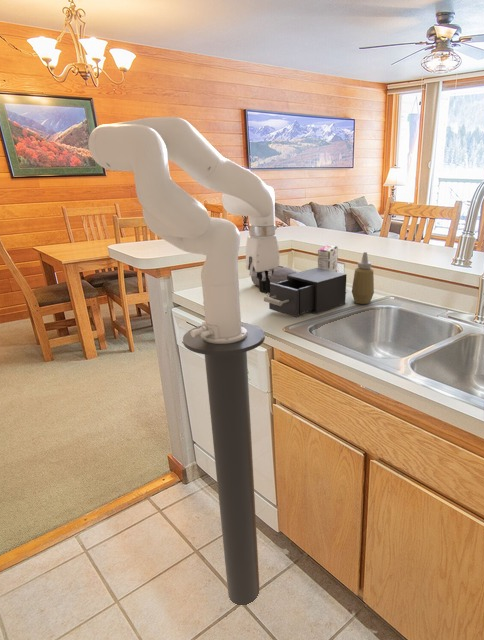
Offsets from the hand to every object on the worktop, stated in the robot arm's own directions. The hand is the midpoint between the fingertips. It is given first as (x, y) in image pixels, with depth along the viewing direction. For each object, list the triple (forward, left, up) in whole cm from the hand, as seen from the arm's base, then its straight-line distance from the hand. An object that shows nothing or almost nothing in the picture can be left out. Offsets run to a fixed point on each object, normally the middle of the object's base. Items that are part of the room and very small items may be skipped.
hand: (264, 292), depth 135 cm
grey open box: (+24, 0, -10) cm, 26 cm away
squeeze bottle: (+38, -10, -10) cm, 41 cm away
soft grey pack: (+31, +27, -10) cm, 43 cm away
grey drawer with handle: (+12, 0, -9) cm, 15 cm away
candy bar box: (+42, +10, -10) cm, 45 cm away
